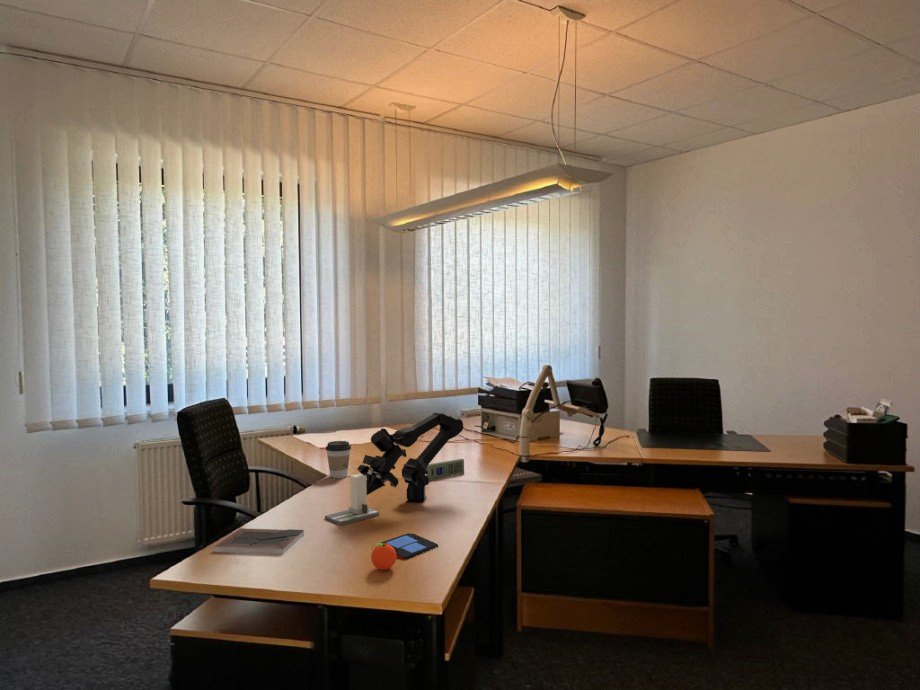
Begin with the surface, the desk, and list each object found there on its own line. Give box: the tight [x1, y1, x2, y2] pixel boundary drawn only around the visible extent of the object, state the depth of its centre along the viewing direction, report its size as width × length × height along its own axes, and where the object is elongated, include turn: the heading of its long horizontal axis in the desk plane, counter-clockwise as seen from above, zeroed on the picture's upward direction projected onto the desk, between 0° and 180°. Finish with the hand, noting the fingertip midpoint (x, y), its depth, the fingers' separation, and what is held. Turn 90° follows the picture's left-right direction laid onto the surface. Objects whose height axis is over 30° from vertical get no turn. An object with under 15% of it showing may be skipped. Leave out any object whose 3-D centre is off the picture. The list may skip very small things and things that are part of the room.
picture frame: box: [213, 527, 305, 555], centre depth 193 cm, size 16×2×22 cm
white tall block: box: [348, 473, 370, 514], centre depth 219 cm, size 5×7×13 cm
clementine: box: [370, 542, 397, 571], centre depth 172 cm, size 8×7×7 cm
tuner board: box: [324, 507, 380, 526], centre depth 218 cm, size 16×10×1 cm, turn 133°
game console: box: [380, 532, 439, 560], centre depth 187 cm, size 14×13×2 cm
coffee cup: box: [324, 440, 352, 479], centre depth 275 cm, size 11×11×15 cm
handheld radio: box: [425, 458, 465, 481], centre depth 273 cm, size 7×3×25 cm
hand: (364, 495), depth 221 cm, fingers closed, pressing on white tall block
